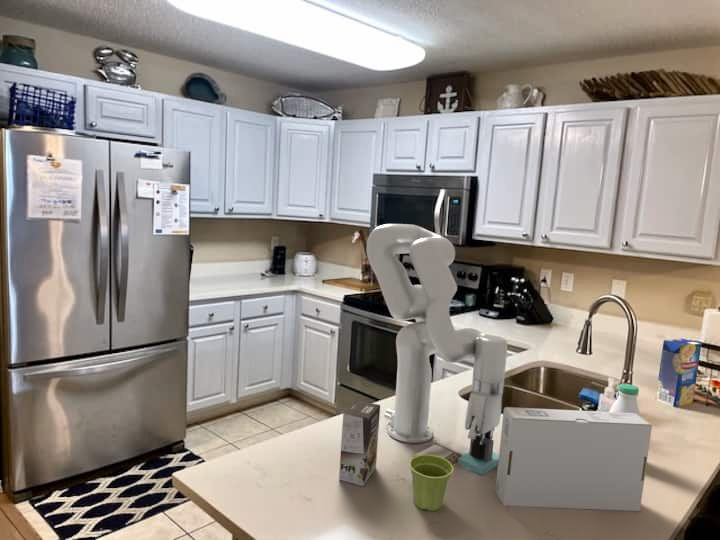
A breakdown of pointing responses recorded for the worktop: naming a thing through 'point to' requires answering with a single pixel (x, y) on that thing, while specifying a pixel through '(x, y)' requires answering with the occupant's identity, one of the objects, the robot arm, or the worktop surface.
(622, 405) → the milk bottle
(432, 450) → the ticket board
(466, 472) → the worktop surface
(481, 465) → the block on base
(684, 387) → the blue tall rectangular box
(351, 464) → the coffee box
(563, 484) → the packaging
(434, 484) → the plant pot
